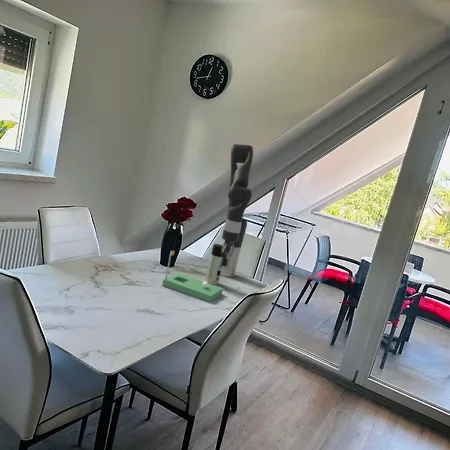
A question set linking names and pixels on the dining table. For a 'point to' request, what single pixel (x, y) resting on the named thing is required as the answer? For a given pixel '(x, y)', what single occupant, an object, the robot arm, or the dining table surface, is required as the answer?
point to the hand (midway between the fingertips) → (223, 265)
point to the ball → (205, 284)
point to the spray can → (215, 265)
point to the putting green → (191, 286)
